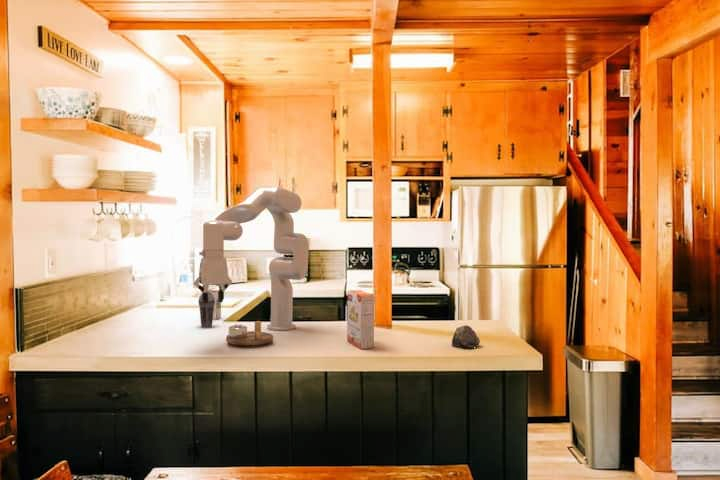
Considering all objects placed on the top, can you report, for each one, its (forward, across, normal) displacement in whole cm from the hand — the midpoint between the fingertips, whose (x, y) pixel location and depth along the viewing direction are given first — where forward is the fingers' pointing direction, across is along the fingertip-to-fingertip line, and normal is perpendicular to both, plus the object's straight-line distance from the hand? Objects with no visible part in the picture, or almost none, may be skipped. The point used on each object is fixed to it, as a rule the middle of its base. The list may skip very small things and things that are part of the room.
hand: (213, 301), depth 220 cm
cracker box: (+18, +51, -24) cm, 59 cm away
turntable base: (+17, +15, 0) cm, 23 cm away
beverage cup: (+18, +11, +39) cm, 44 cm away
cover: (+15, +10, 0) cm, 18 cm away
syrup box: (+18, +20, +56) cm, 62 cm away
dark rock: (+18, +86, -46) cm, 100 cm away
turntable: (+16, +15, 0) cm, 22 cm away
